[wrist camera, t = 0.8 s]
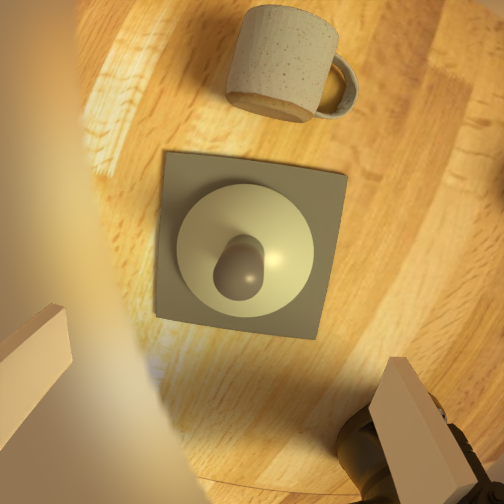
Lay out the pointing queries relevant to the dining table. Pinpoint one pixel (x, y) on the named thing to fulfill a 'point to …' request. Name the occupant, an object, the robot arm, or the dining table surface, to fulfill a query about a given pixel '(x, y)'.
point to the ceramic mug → (286, 65)
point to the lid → (245, 250)
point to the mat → (264, 174)
